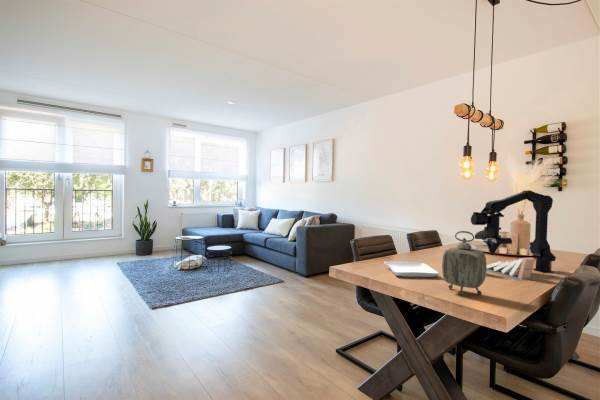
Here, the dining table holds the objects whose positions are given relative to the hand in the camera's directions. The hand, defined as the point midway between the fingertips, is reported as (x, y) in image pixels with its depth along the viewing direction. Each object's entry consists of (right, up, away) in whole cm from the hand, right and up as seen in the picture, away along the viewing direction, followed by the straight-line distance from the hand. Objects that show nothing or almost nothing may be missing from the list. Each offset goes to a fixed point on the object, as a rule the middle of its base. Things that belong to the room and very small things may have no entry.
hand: (492, 254), depth 164 cm
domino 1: (0, -7, +1) cm, 7 cm away
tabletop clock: (-36, -9, -40) cm, 55 cm away
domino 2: (+1, -7, -4) cm, 8 cm away
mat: (+2, -8, -8) cm, 11 cm away
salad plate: (-46, -8, -8) cm, 48 cm away
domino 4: (+3, -7, -13) cm, 15 cm away
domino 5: (+4, -8, -18) cm, 20 cm away
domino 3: (+2, -7, -9) cm, 11 cm away
